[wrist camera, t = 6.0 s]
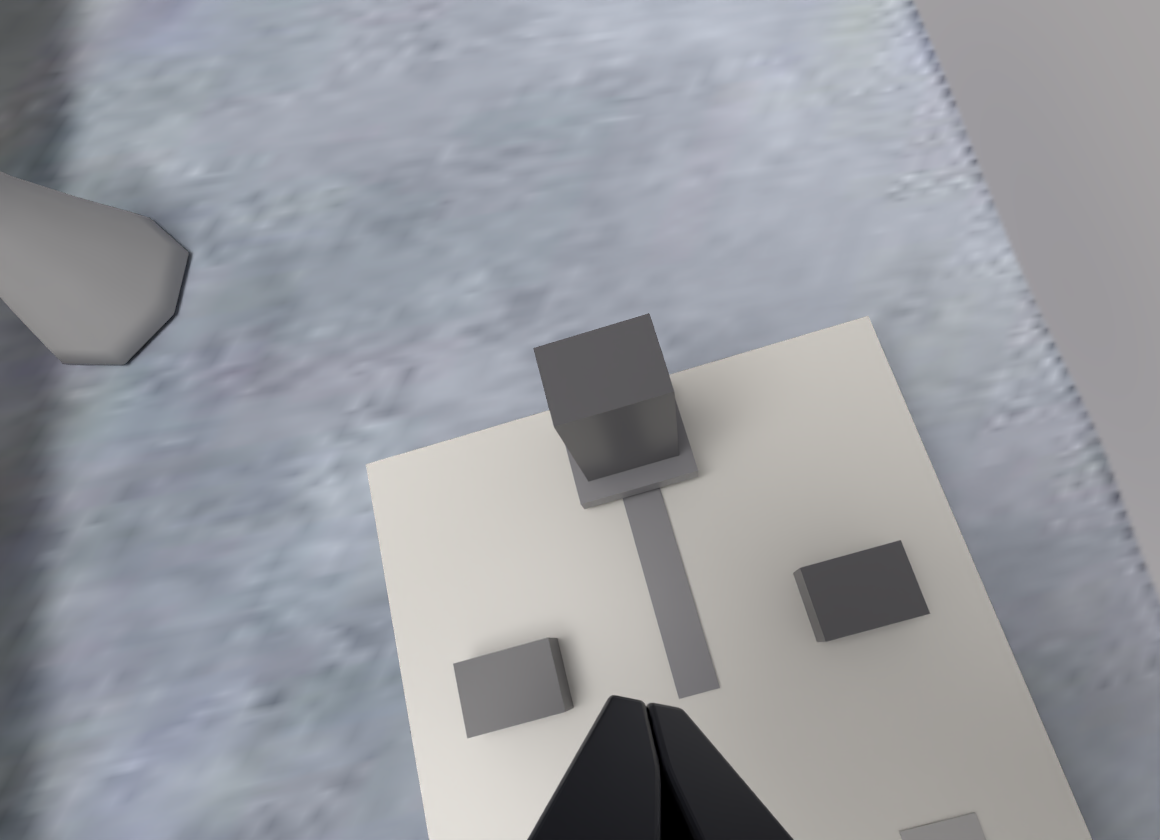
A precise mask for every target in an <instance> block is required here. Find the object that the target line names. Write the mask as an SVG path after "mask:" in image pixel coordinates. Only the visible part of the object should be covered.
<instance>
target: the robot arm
mask: <svg viewBox="0 0 1160 840" xmlns="http://www.w3.org/2000/svg"><path fill="white" fill-rule="evenodd" d="M527 840H794V839H793V838H792V837H791V836H790V834H789V833H788V832H787V831H786V830H785V829H784V827H783V826H782V825H781V824H780V823H779V822H778V820H777V819H776V818H775V817H774V816H773V814H772V813H771V812H770V811H769V810H768V809H767V807H766V806H765V805H764V804H763V803H762V802H761V800H760V799H759V798H758V797H757V796H756V794H755V793H754V792H753V791H752V790H751V789H750V787H749V786H748V785H747V784H746V783H745V781H744V780H743V779H742V778H741V777H740V776H739V774H738V773H737V772H736V771H735V770H734V769H733V767H732V766H731V765H730V764H729V763H728V761H727V760H726V759H725V758H724V757H723V756H722V754H721V753H720V752H719V751H718V750H717V748H716V747H715V746H714V745H713V744H712V743H711V741H710V740H709V739H708V738H707V737H706V736H705V734H704V733H703V732H702V731H701V730H700V728H699V727H698V726H697V725H696V724H695V723H694V721H693V720H692V719H691V718H690V717H689V716H688V714H687V713H686V712H685V711H684V710H683V709H681V708H679V707H674V706H669V705H664V704H658V703H648V704H647V705H645V703H644V702H643V701H641V700H638V699H632V698H627V697H622V696H617V695H611V696H610V697H609V698H608V699H607V701H606V702H605V704H604V706H603V708H602V709H601V711H600V713H599V715H598V716H597V718H596V720H595V722H594V723H593V725H592V727H591V729H590V730H589V732H588V734H587V736H586V737H585V739H584V741H583V743H582V744H581V746H580V748H579V750H578V751H577V753H576V755H575V757H574V758H573V760H572V762H571V764H570V765H569V767H568V769H567V771H566V772H565V774H564V776H563V778H562V779H561V781H560V783H559V785H558V786H557V788H556V790H555V792H554V793H553V795H552V797H551V799H550V800H549V802H548V804H547V806H546V807H545V809H544V811H543V813H542V814H541V816H540V818H539V820H538V821H537V823H536V825H535V827H534V828H533V830H532V832H531V834H530V835H529V837H528V839H527Z"/></svg>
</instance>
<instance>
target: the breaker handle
mask: <svg viewBox="0 0 1160 840" xmlns="http://www.w3.org/2000/svg"><path fill="white" fill-rule="evenodd" d="M534 352H535V356H536V360H537V364H538V368H539V372H540V375H541V379H542V383H543V387H544V391H545V395H546V399H547V402H548V406H549V410H550V414H551V418H552V422H553V426H554V428H555V430H556V431H557V433H558V434H559V436H560V438H561V439H562V441H563V442H564V444H565V446H566V450H567V454H568V458H569V462H570V465H571V469H572V473H573V477H574V481H575V485H576V488H577V492H578V496H579V500H580V504H581V505H582V507H583V508H584V509H587V508H590V507H594V506H597V505H601V504H604V503H608V502H611V501H615V500H618V499H622V498H625V497H629V496H632V495H636V494H639V493H643V492H646V491H650V490H653V489H657V488H660V487H664V486H667V485H671V484H674V483H678V482H681V481H685V480H688V479H692V478H695V477H698V468H697V465H696V462H695V459H694V456H693V452H692V449H691V446H690V443H689V440H688V437H687V434H686V431H685V427H684V424H683V421H682V418H681V415H680V412H679V409H678V406H677V402H676V399H675V393H674V389H673V386H672V383H671V379H670V376H669V373H668V370H667V367H666V364H665V361H664V358H663V354H662V351H661V348H660V345H659V342H658V339H657V336H656V333H655V330H654V326H653V323H652V320H651V317H650V314H645V315H642V316H639V317H635V318H632V319H629V320H626V321H622V322H619V323H616V324H612V325H609V326H606V327H602V328H599V329H596V330H592V331H589V332H586V333H582V334H579V335H576V336H572V337H569V338H566V339H562V340H559V341H556V342H552V343H549V344H546V345H543V346H539V347H536V348H534Z"/></svg>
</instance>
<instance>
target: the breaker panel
mask: <svg viewBox="0 0 1160 840" xmlns="http://www.w3.org/2000/svg"><path fill="white" fill-rule="evenodd" d="M669 376H670V379H671V383H672V386H673V389H674V393H675V399H676V402H677V406H678V409H679V412H680V415H681V418H682V421H683V424H684V427H685V431H686V434H687V437H688V440H689V443H690V446H691V449H692V452H693V456H694V459H695V462H696V465H697V468H698V477H695V478H692V479H688V480H685V481H681V482H678V483H674V484H671V485H667V486H664V487H660V488H657V489H653V490H650V491H646V492H643V493H639V494H636V495H632V496H629V497H625V498H622V499H618V500H615V501H611V502H608V503H604V504H601V505H597V506H594V507H590V508H587V509H584V508H583V507H582V505H581V504H580V500H579V496H578V492H577V488H576V485H575V481H574V477H573V473H572V469H571V465H570V462H569V458H568V454H567V450H566V446H565V444H564V442H563V441H562V439H561V438H560V436H559V434H558V433H557V431H556V430H555V428H554V426H553V422H552V418H551V414H550V410H548V411H545V412H541V413H538V414H535V415H531V416H528V417H525V418H521V419H518V420H514V421H511V422H508V423H504V424H501V425H498V426H494V427H491V428H487V429H484V430H481V431H477V432H474V433H470V434H467V435H464V436H460V437H457V438H454V439H450V440H447V441H443V442H440V443H437V444H433V445H430V446H426V447H423V448H420V449H416V450H413V451H410V452H406V453H403V454H399V455H396V456H393V457H389V458H386V459H382V460H379V461H376V462H372V463H369V464H366V467H367V473H368V479H369V485H370V491H371V497H372V503H373V509H374V515H375V521H376V527H377V533H378V539H379V545H380V551H381V557H382V563H383V568H384V574H385V580H386V586H387V592H388V598H389V604H390V610H391V616H392V622H393V628H394V634H395V640H396V646H397V652H398V658H399V664H400V670H401V676H402V681H403V687H404V693H405V699H406V705H407V711H408V717H409V723H410V729H411V735H412V741H413V747H414V753H415V759H416V765H417V771H418V777H419V783H420V789H421V794H422V800H423V806H424V812H425V818H426V824H427V830H428V836H429V840H527V839H528V837H529V835H530V834H531V832H532V830H533V828H534V827H535V825H536V823H537V821H538V820H539V818H540V816H541V814H542V813H543V811H544V809H545V807H546V806H547V804H548V802H549V800H550V799H551V797H552V795H553V793H554V792H555V790H556V788H557V786H558V785H559V783H560V781H561V779H562V778H563V776H564V774H565V772H566V771H567V769H568V767H569V765H570V764H571V762H572V760H573V758H574V757H575V755H576V753H577V751H578V750H579V748H580V746H581V744H582V743H583V741H584V739H585V737H586V736H587V734H588V732H589V730H590V729H591V727H592V725H593V723H594V722H595V720H596V718H597V716H598V715H599V713H600V711H601V709H602V708H603V706H604V704H605V702H606V701H607V699H608V698H609V697H610V696H611V695H617V696H622V697H627V698H632V699H638V700H641V701H643V702H644V703H645V705H647V704H648V703H658V704H664V705H669V706H674V707H679V708H681V709H683V710H684V711H685V712H686V713H687V714H688V716H689V717H690V718H691V719H692V720H693V721H694V723H695V724H696V725H697V726H698V727H699V728H700V730H701V731H702V732H703V733H704V734H705V736H706V737H707V738H708V739H709V740H710V741H711V743H712V744H713V745H714V746H715V747H716V748H717V750H718V751H719V752H720V753H721V754H722V756H723V757H724V758H725V759H726V760H727V761H728V763H729V764H730V765H731V766H732V767H733V769H734V770H735V771H736V772H737V773H738V774H739V776H740V777H741V778H742V779H743V780H744V781H745V783H746V784H747V785H748V786H749V787H750V789H751V790H752V791H753V792H754V793H755V794H756V796H757V797H758V798H759V799H760V800H761V802H762V803H763V804H764V805H765V806H766V807H767V809H768V810H769V811H770V812H771V813H772V814H773V816H774V817H775V818H776V819H777V820H778V822H779V823H780V824H781V825H782V826H783V827H784V829H785V830H786V831H787V832H788V833H789V834H790V836H791V837H792V838H793V839H794V840H1092V837H1091V835H1090V833H1089V830H1088V828H1087V826H1086V823H1085V821H1084V819H1083V816H1082V814H1081V812H1080V809H1079V807H1078V805H1077V802H1076V800H1075V798H1074V795H1073V793H1072V791H1071V788H1070V786H1069V784H1068V781H1067V779H1066V777H1065V774H1064V772H1063V770H1062V767H1061V765H1060V763H1059V760H1058V758H1057V756H1056V753H1055V751H1054V749H1053V746H1052V744H1051V742H1050V739H1049V737H1048V735H1047V732H1046V730H1045V728H1044V725H1043V723H1042V721H1041V718H1040V716H1039V714H1038V711H1037V709H1036V707H1035V704H1034V702H1033V700H1032V697H1031V695H1030V693H1029V690H1028V688H1027V686H1026V683H1025V681H1024V679H1023V676H1022V674H1021V672H1020V669H1019V667H1018V665H1017V662H1016V660H1015V658H1014V655H1013V653H1012V651H1011V648H1010V646H1009V644H1008V641H1007V639H1006V637H1005V634H1004V632H1003V630H1002V627H1001V625H1000V623H999V620H998V618H997V616H996V613H995V611H994V609H993V606H992V604H991V602H990V599H989V597H988V595H987V592H986V590H985V587H984V585H983V583H982V580H981V578H980V576H979V573H978V571H977V569H976V566H975V564H974V562H973V559H972V557H971V555H970V552H969V550H968V548H967V545H966V543H965V541H964V538H963V536H962V534H961V531H960V529H959V527H958V524H957V522H956V520H955V517H954V515H953V513H952V510H951V508H950V506H949V503H948V501H947V499H946V496H945V494H944V492H943V489H942V487H941V485H940V482H939V480H938V478H937V475H936V473H935V471H934V468H933V466H932V464H931V461H930V459H929V457H928V454H927V452H926V450H925V447H924V445H923V443H922V440H921V438H920V436H919V433H918V431H917V429H916V426H915V424H914V422H913V419H912V417H911V415H910V412H909V410H908V408H907V405H906V403H905V401H904V398H903V396H902V394H901V391H900V389H899V387H898V384H897V382H896V380H895V377H894V375H893V373H892V370H891V368H890V366H889V363H888V361H887V359H886V356H885V354H884V352H883V349H882V347H881V345H880V342H879V340H878V338H877V335H876V333H875V330H874V328H873V326H872V323H871V321H870V319H869V316H866V317H863V318H859V319H856V320H853V321H849V322H846V323H843V324H839V325H836V326H832V327H829V328H826V329H822V330H819V331H815V332H812V333H809V334H805V335H802V336H799V337H795V338H792V339H788V340H785V341H782V342H778V343H775V344H772V345H768V346H765V347H761V348H758V349H755V350H751V351H748V352H744V353H741V354H738V355H734V356H731V357H728V358H724V359H721V360H717V361H714V362H711V363H707V364H704V365H700V366H697V367H694V368H690V369H687V370H684V371H680V372H677V373H673V374H670V375H669Z"/></svg>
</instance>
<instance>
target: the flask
mask: <svg viewBox="0 0 1160 840" xmlns="http://www.w3.org/2000/svg"><path fill="white" fill-rule="evenodd" d="M188 255H189V252H188V251H187V250H186V249H184V248H183V247H182V246H181V245H180V244H179V243H178V242H177V241H175V240H174V239H173V238H172V237H171V236H170V235H169V234H168V233H166V232H165V231H164V230H163V229H162V228H161V227H160V226H159V225H157V224H156V223H155V222H154V221H153V220H152V219H151V218H148V217H145V216H142V215H139V214H135V213H132V212H129V211H125V210H122V209H118V208H114V207H111V206H107V205H103V204H100V203H96V202H93V201H89V200H85V199H82V198H78V197H75V196H72V195H69V194H66V193H62V192H59V191H56V190H53V189H50V188H47V187H43V186H40V185H37V184H34V183H31V182H28V181H25V180H21V179H18V178H15V177H12V176H9V175H7V174H5V173H3V172H0V297H1V298H2V300H3V301H4V302H5V303H6V304H7V305H8V306H9V307H10V309H11V310H12V311H13V312H14V313H15V314H16V315H17V316H18V317H19V318H20V319H21V320H22V321H23V323H24V324H25V325H26V326H27V327H28V328H29V329H30V330H31V331H32V332H33V333H34V334H35V335H36V336H37V337H38V338H39V339H40V340H41V341H42V343H43V344H44V345H45V346H46V347H47V348H48V349H49V350H50V351H51V352H52V353H53V354H54V355H55V356H56V357H57V358H58V359H59V360H60V361H61V362H62V363H63V364H98V365H125V364H126V362H127V361H128V360H129V359H130V358H131V357H132V356H133V355H134V354H135V353H136V352H137V351H138V350H139V349H140V348H141V347H142V346H143V345H144V344H145V343H146V342H147V341H148V340H149V339H150V338H151V337H152V336H153V335H154V334H155V333H156V332H157V331H158V330H159V329H160V328H161V327H162V326H163V325H164V324H165V323H166V322H167V321H168V320H169V319H170V318H171V317H172V316H173V315H174V312H175V308H176V304H177V300H178V296H179V292H180V288H181V284H182V279H183V275H184V271H185V267H186V263H187V259H188Z"/></svg>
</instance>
